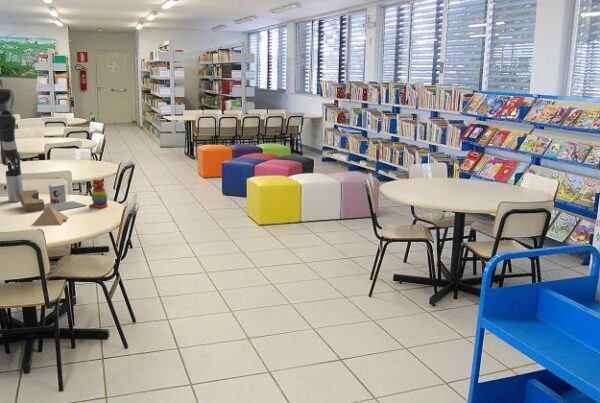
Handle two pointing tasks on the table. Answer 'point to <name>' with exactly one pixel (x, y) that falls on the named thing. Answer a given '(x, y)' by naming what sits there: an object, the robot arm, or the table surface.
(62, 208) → the mat
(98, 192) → the stacking bear
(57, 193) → the ink box
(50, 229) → the table surface
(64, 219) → the model pyramid
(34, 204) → the decorative block
